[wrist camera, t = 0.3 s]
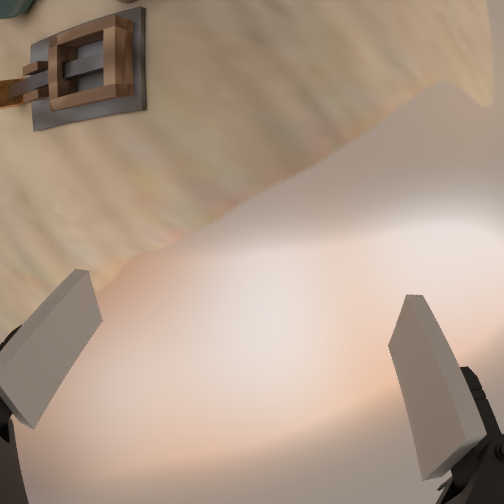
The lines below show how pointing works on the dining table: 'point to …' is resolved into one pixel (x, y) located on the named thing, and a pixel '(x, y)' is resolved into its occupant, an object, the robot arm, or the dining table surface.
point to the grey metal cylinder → (126, 1)
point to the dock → (96, 83)
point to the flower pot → (13, 8)
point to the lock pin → (46, 79)
